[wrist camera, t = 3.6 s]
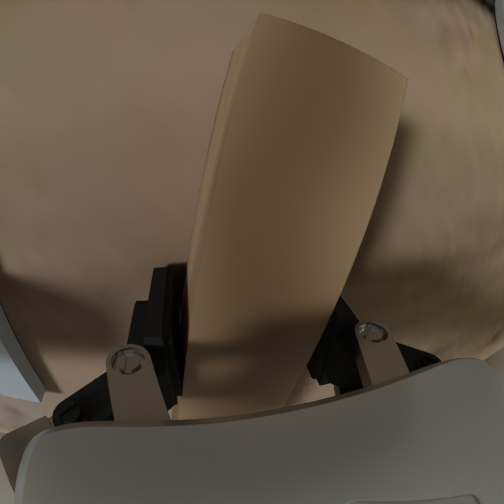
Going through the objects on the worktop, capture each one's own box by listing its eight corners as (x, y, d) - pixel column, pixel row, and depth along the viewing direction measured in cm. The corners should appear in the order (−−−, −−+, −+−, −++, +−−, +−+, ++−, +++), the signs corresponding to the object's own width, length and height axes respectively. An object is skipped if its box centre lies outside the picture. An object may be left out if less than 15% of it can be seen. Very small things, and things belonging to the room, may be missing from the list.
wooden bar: (337, 85, 9) (408, 78, 5) (235, 409, 16) (248, 463, 12) (232, 52, 8) (260, 12, 4) (171, 408, 15) (175, 465, 11)
